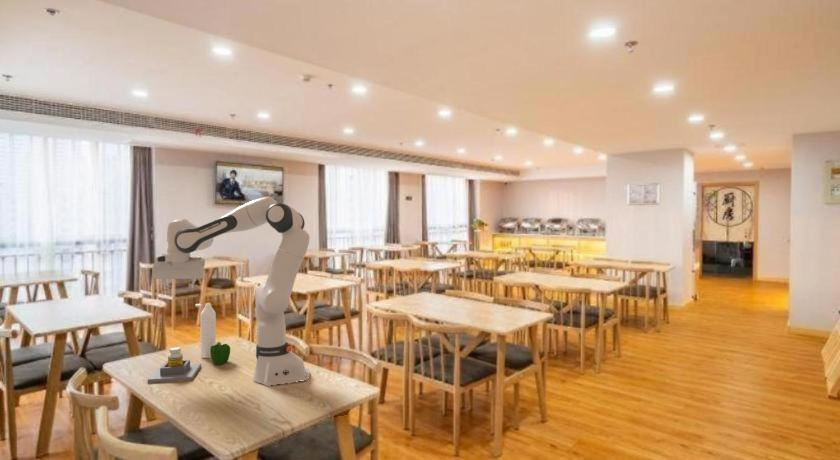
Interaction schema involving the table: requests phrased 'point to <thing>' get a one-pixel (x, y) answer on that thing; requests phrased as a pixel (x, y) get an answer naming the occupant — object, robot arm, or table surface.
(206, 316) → the water bottle
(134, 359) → the table surface
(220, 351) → the bell pepper
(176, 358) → the supplement bottle
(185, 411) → the table surface
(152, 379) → the bottle stand
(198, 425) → the table surface
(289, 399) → the table surface
